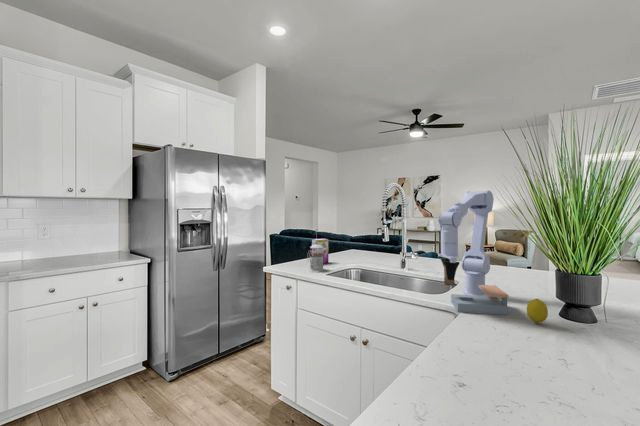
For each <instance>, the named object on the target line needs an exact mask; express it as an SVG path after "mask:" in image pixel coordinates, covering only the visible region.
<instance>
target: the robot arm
mask: <svg viewBox="0 0 640 426" xmlns="http://www.w3.org/2000/svg"><path fill="white" fill-rule="evenodd" d="M463 197H464V199H462V201H461V202H459V201H458V202H455V203H454V204H453V206H451V207H450V208H448V210H447V211H442V212H441V213H439V215H438V219H437V220H438V224H439V229H440V232H441V253H438V257H442V258H440V261H441V263H442V267H444V265H445V268H446V273H447V278H448V280H455V277H456V272H457V269H458V267H459V265H461V269H462V270H463V271H464V273H465V276H464V288H463V289H462V291H463V292H464V293H465V295H478V296H488V295H486V294H485V293H484V292H483V291H482V290H481V289H480V288H479V285H486V275H488V273H490V270H491V263H490V262H491V260H490V259H491V257H490V256H489V255H488V254H487V253H486V252H485V251H484V249H485V241H486V235H487V234H486V232H487V226H488V219H489V214H490V213H491V212H492V211H493V207H494V195H493V192H492V191H491V190H482V191H481V190H477V191H466V193H464V196H463ZM469 210H470V211H471V212H472V213H474V220H473V221H474V222H473V227H472V236H471V241H470V242H471V243H470V248H469V250H467V251H465V252H464V254H463V257H462V259H461V261H460V262H461V264H460V262H459V261H457V260H458V258H459V231H458V230H459V227H460V225H461V223H462V221H463V218H464V217H465V216H466V215H467V214H468V212H469Z"/></svg>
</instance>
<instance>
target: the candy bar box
mask: <svg viewBox="0 0 640 426" xmlns="http://www.w3.org/2000/svg"><path fill="white" fill-rule="evenodd" d="M313 245H316V238H314V239H311V246H313ZM317 245H321V246H323V248H320V249H317V253H322V255H320V256H323V263H324V264H327V263H326V262H328V263H329V250H330V249H329V248H330V247H329V239H328V238H317ZM312 250H313V251H312ZM312 252H313V253H316V249H312V248H311V253H312ZM311 256H314V255H311ZM318 260H319V259H318ZM318 262H319V261H318Z"/></svg>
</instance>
